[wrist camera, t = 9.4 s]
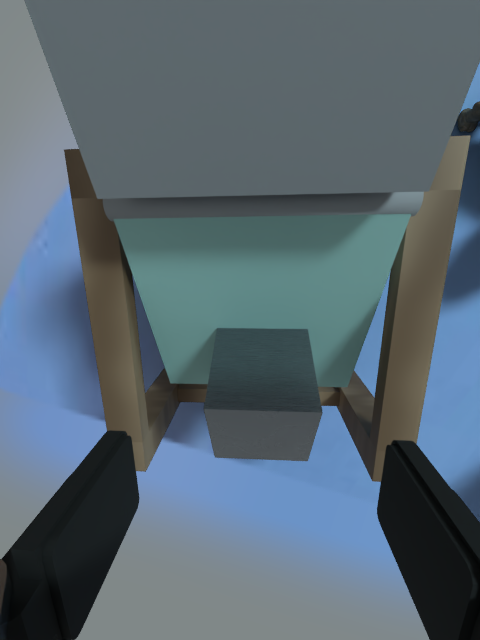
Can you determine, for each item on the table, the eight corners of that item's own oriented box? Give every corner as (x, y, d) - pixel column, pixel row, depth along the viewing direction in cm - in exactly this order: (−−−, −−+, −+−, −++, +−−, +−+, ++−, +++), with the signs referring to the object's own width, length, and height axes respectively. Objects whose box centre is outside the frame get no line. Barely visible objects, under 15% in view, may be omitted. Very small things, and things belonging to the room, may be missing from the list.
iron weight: (307, 328, 16) (322, 412, 12) (298, 382, 19) (307, 461, 15) (216, 328, 16) (203, 409, 12) (223, 381, 19) (214, 457, 16)
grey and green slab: (479, -82, 8) (609, -165, 5) (342, 358, 21) (355, 407, 18) (57, -47, 9) (-46, -100, 6) (175, 355, 22) (162, 402, 19)
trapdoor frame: (364, 190, 23) (470, 135, 11) (345, 381, 27) (409, 482, 16) (158, 194, 24) (64, 149, 12) (172, 378, 28) (113, 469, 17)
